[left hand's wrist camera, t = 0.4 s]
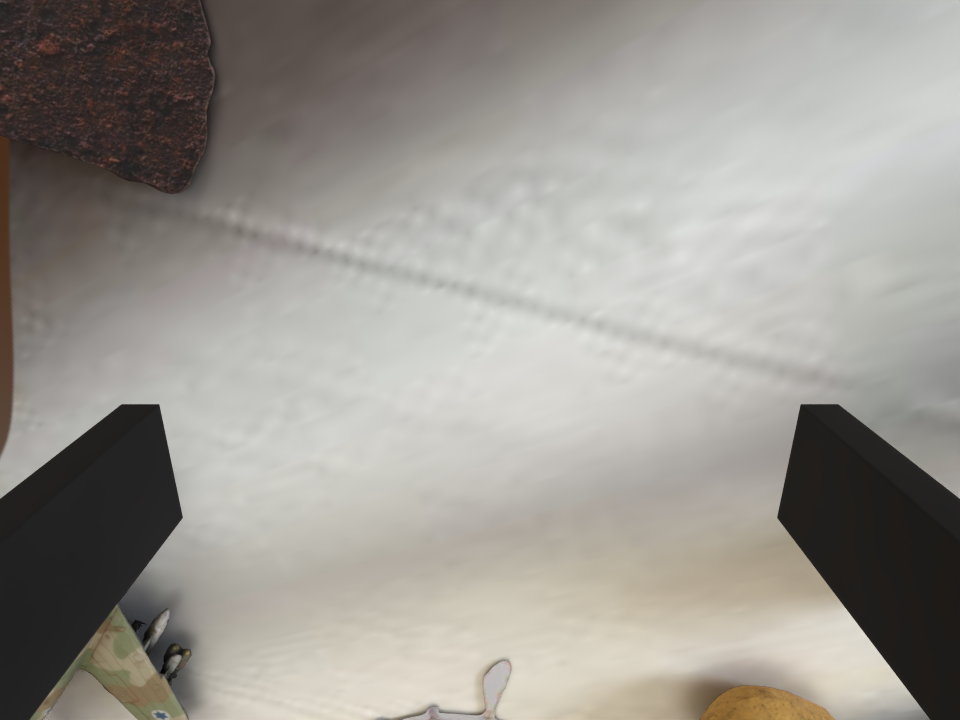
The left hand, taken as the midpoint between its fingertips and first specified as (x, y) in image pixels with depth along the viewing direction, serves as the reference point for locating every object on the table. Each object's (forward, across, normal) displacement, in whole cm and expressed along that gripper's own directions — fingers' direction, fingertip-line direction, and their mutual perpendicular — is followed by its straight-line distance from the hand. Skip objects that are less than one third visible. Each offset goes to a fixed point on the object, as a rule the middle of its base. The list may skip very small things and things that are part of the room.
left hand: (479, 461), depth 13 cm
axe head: (+28, -24, +11) cm, 39 cm away
